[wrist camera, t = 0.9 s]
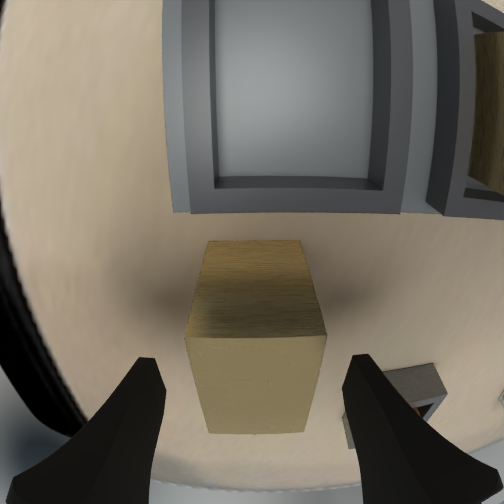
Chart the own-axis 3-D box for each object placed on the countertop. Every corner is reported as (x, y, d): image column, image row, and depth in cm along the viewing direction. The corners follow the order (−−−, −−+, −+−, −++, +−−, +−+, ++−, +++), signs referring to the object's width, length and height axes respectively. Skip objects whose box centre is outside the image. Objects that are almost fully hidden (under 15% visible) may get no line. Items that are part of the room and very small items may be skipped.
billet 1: (299, 239, 13) (327, 335, 8) (291, 337, 16) (303, 432, 11) (208, 240, 13) (184, 337, 8) (218, 338, 16) (209, 433, 11)
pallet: (525, 46, 7) (562, 49, 5) (512, 210, 12) (544, 232, 10) (174, -26, 8) (153, -56, 5) (181, 199, 12) (163, 229, 10)
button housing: (432, 363, 18) (447, 393, 15) (406, 407, 21) (416, 434, 18) (360, 375, 18) (370, 411, 15) (342, 418, 21) (348, 449, 18)
